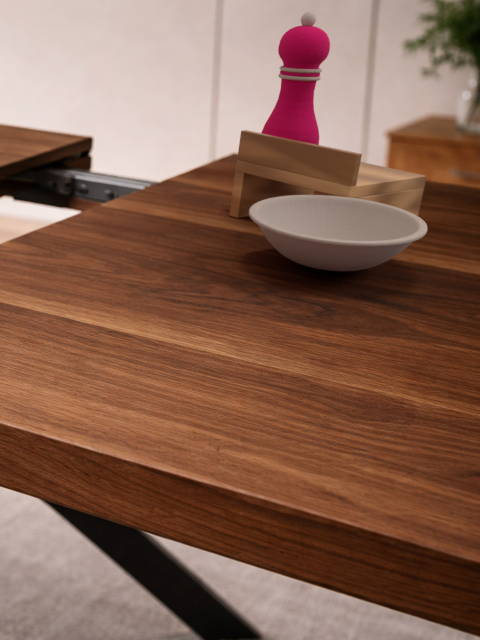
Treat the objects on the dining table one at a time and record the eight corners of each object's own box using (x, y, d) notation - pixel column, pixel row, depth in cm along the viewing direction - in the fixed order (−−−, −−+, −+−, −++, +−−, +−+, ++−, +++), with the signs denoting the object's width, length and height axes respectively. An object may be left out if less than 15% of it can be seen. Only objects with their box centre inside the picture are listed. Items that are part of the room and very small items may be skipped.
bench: (303, 204, 108) (316, 124, 105) (414, 234, 97) (433, 145, 94) (229, 215, 102) (240, 130, 99) (339, 248, 91) (356, 154, 88)
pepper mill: (273, 182, 119) (299, 12, 111) (244, 170, 125) (267, 9, 118) (324, 181, 121) (353, 14, 113) (293, 169, 127) (319, 11, 120)
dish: (405, 316, 73) (418, 254, 71) (219, 283, 79) (227, 225, 78) (423, 261, 88) (434, 208, 86) (265, 237, 94) (272, 187, 92)
